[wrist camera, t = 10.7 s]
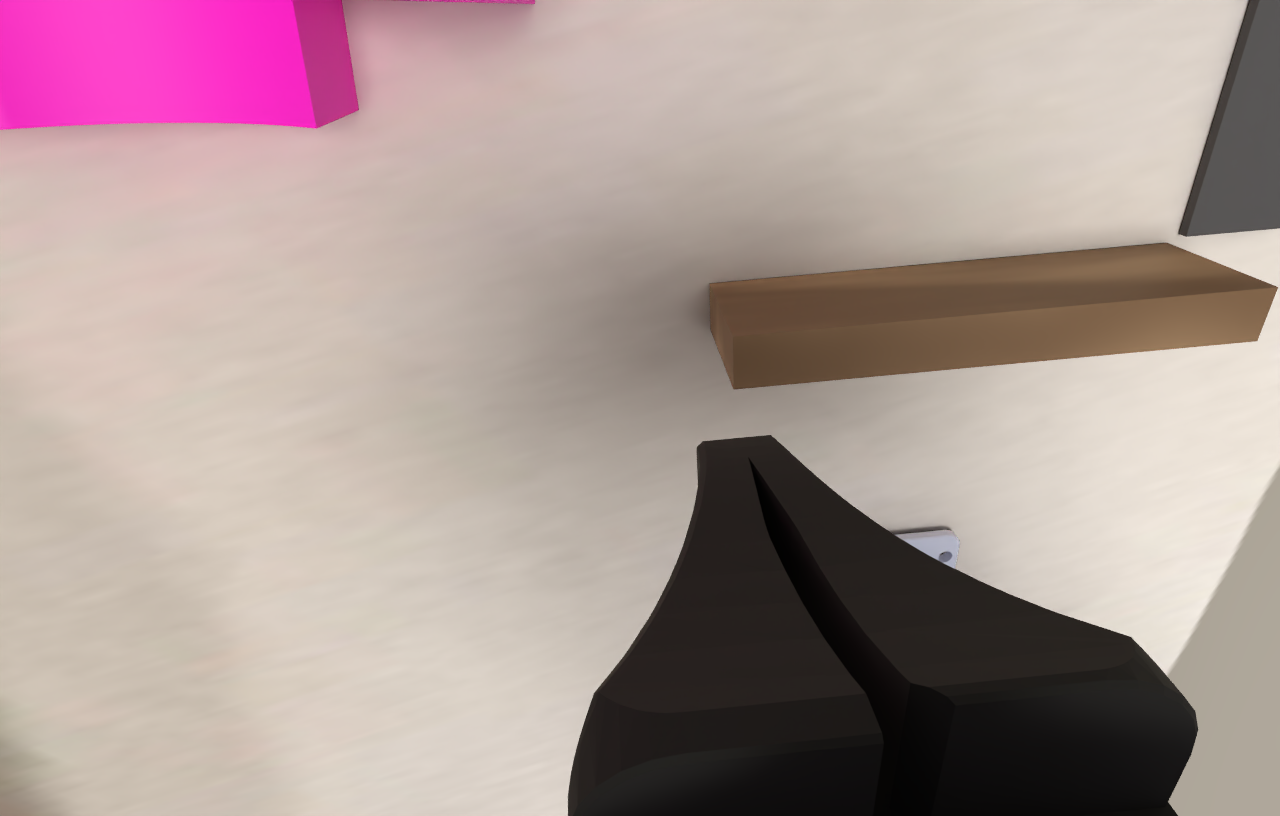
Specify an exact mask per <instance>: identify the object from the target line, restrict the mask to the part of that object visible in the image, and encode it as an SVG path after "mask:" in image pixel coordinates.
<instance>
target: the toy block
mask: <svg viewBox="0 0 1280 816" xmlns="http://www.w3.org/2000/svg"><path fill="white" fill-rule="evenodd" d="M400 1H439V2H478V3H518V4H535V0H400ZM358 110H359V108H358V102H357V95H356V89H355V83H354V76H353V70H352V64H351V57H350V51H349V45H348V39H347V32H346V26H345V20H344V13H343V7H342V1H341V0H0V130H3V129H17V128H34V127H50V126H71V125H94V124H123V123H243V124H266V125H282V126H296V127H307V128H319V127H321V126H323V125H326V124H328V123H330V122H332V121H335V120H337V119H339V118H342V117H344V116H346V115H348V114H351V113H353V112H355V111H358Z"/></svg>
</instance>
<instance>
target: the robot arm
mask: <svg viewBox="0 0 1280 816" xmlns="http://www.w3.org/2000/svg"><path fill="white" fill-rule="evenodd" d="M697 470H698V490H697V495H696V500H695V506H694V510H693V514H692V518H691V521H690V525H689V528H688V531H687V535H686V538H685V541H684V544H683V547H682V550H681V553H680V555H679V558H678V560H677V563H676V565H675V567H674V570H673V572H672V575H671V577H670V579H669V581H668V583H667V585H666V587H665V589H664V591H663V593H662V595H661V597H660V599H659V601H658V603H657V605H656V607H655V608H654V610H653V612H652V614H651V616H650V617H649V619H648V620H647V622H646V623H645V625H644V627H643V628H642V630H641V631H640V633H639V634H638V636H637V637H636V639H635V641H634V642H633V644H632V645H631V647H630V648H629V650H628V651H627V653H626V654H625V655H624V657H623V658H622V659H621V661H620V662H619V663H618V664H617V666H616V667H615V668H614V669H613V671H612V672H611V673H610V674H609V676H608V677H607V678H606V679H605V681H604V682H603V683H602V684H601V686H600V687H599V688H598V689H597V690H596V692H595V693H594V695H593V698H592V701H591V704H590V707H589V710H588V713H587V716H586V719H585V722H584V725H583V728H582V732H581V735H580V738H579V742H578V745H577V749H576V753H575V757H574V761H573V766H572V771H571V778H570V785H569V793H568V816H1178V815H1177V814H1176V812H1175V811H1174V810H1173V808H1172V807H1171V805H1170V804H1169V803H1168V800H1169V798H1170V796H1171V794H1172V792H1173V790H1174V788H1175V786H1176V784H1177V782H1178V780H1179V778H1180V776H1181V774H1182V772H1183V770H1184V768H1185V766H1186V763H1187V762H1188V760H1189V757H1190V756H1191V753H1192V749H1193V746H1194V743H1195V739H1196V736H1197V732H1198V726H1197V720H1196V713H1195V710H1194V709H1193V708H1192V706H1191V705H1190V704H1189V703H1188V701H1187V700H1186V699H1185V697H1184V696H1183V695H1182V693H1181V692H1180V691H1179V690H1178V689H1177V688H1176V687H1175V685H1174V684H1173V683H1172V682H1171V681H1170V679H1169V678H1168V677H1167V676H1166V675H1165V673H1164V672H1163V671H1162V670H1161V669H1160V668H1159V666H1158V665H1157V664H1156V663H1155V662H1154V661H1153V660H1152V659H1151V658H1150V657H1149V655H1148V654H1147V653H1146V652H1145V651H1144V650H1143V649H1142V648H1141V647H1140V646H1139V645H1138V644H1137V643H1136V642H1135V641H1134V640H1133V639H1132V638H1131V637H1129V636H1126V635H1123V634H1120V633H1117V632H1114V631H1111V630H1108V629H1105V628H1102V627H1099V626H1095V625H1092V624H1089V623H1086V622H1083V621H1080V620H1077V619H1074V618H1071V617H1068V616H1065V615H1062V614H1059V613H1056V612H1053V611H1050V610H1048V609H1045V608H1043V607H1040V606H1038V605H1035V604H1033V603H1030V602H1028V601H1025V600H1023V599H1020V598H1018V597H1015V596H1013V595H1010V594H1008V593H1005V592H1003V591H1001V590H998V589H996V588H994V587H992V586H989V585H987V584H985V583H983V582H980V581H978V580H976V579H974V578H972V577H970V576H968V575H966V574H964V573H962V572H960V571H958V570H956V569H955V567H956V562H957V557H958V551H959V546H960V540H959V539H958V537H957V536H956V535H955V533H954V532H953V531H951V530H938V531H928V532H918V533H907V534H897V535H894V534H892V533H891V532H889V531H888V530H886V529H885V528H883V527H882V526H880V525H879V524H877V523H876V522H874V521H873V520H872V519H870V518H869V517H867V516H866V515H865V514H863V513H862V512H860V511H859V510H858V509H856V508H855V507H854V506H852V505H851V504H850V503H848V502H847V501H846V500H844V499H843V498H842V497H841V496H839V495H838V494H837V493H836V492H835V491H833V490H832V489H831V488H830V487H828V486H827V485H826V484H825V483H824V482H822V481H821V480H820V479H819V478H818V477H817V476H816V475H814V474H813V473H812V472H811V471H810V470H809V469H808V468H807V467H805V466H804V465H803V464H802V463H801V462H800V461H799V460H798V459H797V458H795V457H794V456H793V455H792V454H791V453H790V452H789V451H788V450H787V449H786V448H785V447H784V446H782V445H781V444H780V443H779V442H778V441H777V440H776V439H775V438H773V437H772V436H771V435H766V436H756V437H745V438H734V439H724V440H713V441H703V442H702V443H701V444H700V445H699V446H698V447H697ZM942 552H946V553H944V554H942V555H940V554H941V553H942Z"/></svg>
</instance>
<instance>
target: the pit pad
mask: <svg viewBox="0 0 1280 816" xmlns="http://www.w3.org/2000/svg"><path fill="white" fill-rule="evenodd" d="M1277 228H1280V0H1250V2H1249V5H1248V9H1247V12H1246V15H1245V18H1244V22H1243V25H1242V28H1241V32H1240V35H1239V38H1238V41H1237V45H1236V48H1235V51H1234V55H1233V58H1232V61H1231V64H1230V68H1229V71H1228V74H1227V78H1226V81H1225V84H1224V87H1223V91H1222V94H1221V97H1220V101H1219V104H1218V107H1217V110H1216V114H1215V117H1214V120H1213V124H1212V127H1211V130H1210V133H1209V137H1208V140H1207V143H1206V147H1205V150H1204V153H1203V156H1202V160H1201V163H1200V166H1199V170H1198V173H1197V176H1196V179H1195V183H1194V186H1193V189H1192V193H1191V196H1190V199H1189V202H1188V206H1187V209H1186V212H1185V216H1184V219H1183V222H1182V225H1181V229H1180V232H1179V234H1181V235H1183V236H1186V237H1187V236H1198V235H1209V234H1221V233H1232V232H1243V231H1254V230H1266V229H1277Z"/></svg>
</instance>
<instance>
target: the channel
mask: <svg viewBox="0 0 1280 816" xmlns="http://www.w3.org/2000/svg"><path fill="white" fill-rule="evenodd" d="M1277 289H1278V287H1276V286H1274V285H1271V284H1269V283H1266V282H1264V281H1261V280H1259V279H1256V278H1254V277H1251V276H1249V275H1246V274H1244V273H1241V272H1239V271H1236V270H1234V269H1231V268H1229V267H1226V266H1224V265H1221V264H1219V263H1216V262H1214V261H1211V260H1209V259H1206V258H1204V257H1201V256H1199V255H1196V254H1194V253H1191V252H1189V251H1186V250H1183V249H1181V248H1178V247H1176V246H1173V245H1171V244H1168V243H1159V244H1148V245H1137V246H1126V247H1114V248H1103V249H1092V250H1081V251H1070V252H1058V253H1047V254H1036V255H1025V256H1013V257H1002V258H991V259H980V260H969V261H957V262H946V263H935V264H924V265H913V266H901V267H890V268H879V269H868V270H856V271H845V272H834V273H823V274H812V275H800V276H789V277H778V278H767V279H756V280H744V281H733V282H722V283H711V284H710V323H711V332H712V335H713V337H714V340H715V342H716V345H717V348H718V350H719V353H720V355H721V358H722V361H723V363H724V366H725V368H726V371H727V374H728V376H729V379H730V381H731V384H732V387H733V389H743V388H754V387H765V386H776V385H787V384H798V383H808V382H819V381H830V380H841V379H852V378H863V377H873V376H884V375H895V374H906V373H917V372H928V371H938V370H949V369H960V368H971V367H982V366H992V365H1003V364H1014V363H1025V362H1036V361H1047V360H1057V359H1068V358H1079V357H1090V356H1101V355H1112V354H1122V353H1133V352H1144V351H1155V350H1166V349H1177V348H1187V347H1198V346H1209V345H1220V344H1231V343H1242V342H1252V341H1257V340H1258V338H1259V335H1260V332H1261V330H1262V327H1263V325H1264V322H1265V320H1266V317H1267V314H1268V312H1269V309H1270V307H1271V304H1272V301H1273V299H1274V296H1275V294H1276V291H1277Z"/></svg>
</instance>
